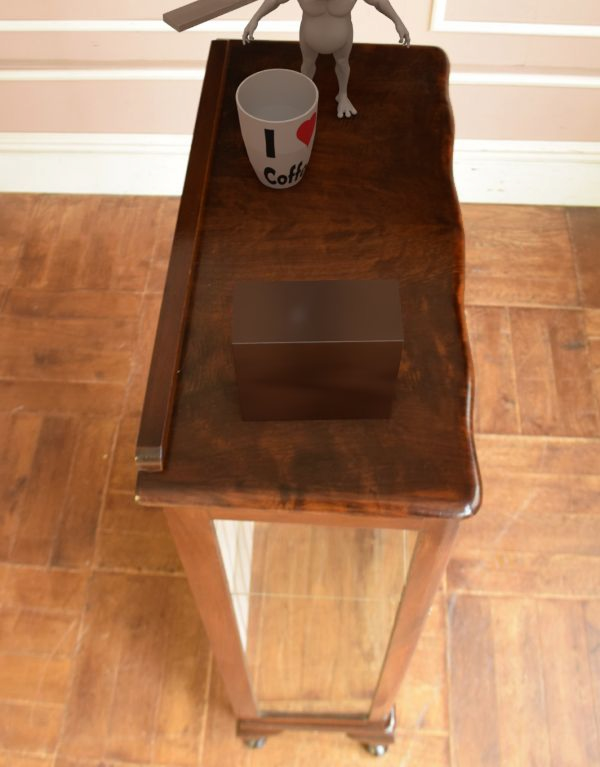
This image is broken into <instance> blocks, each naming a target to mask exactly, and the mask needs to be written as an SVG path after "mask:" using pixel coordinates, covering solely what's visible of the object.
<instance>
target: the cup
mask: <svg viewBox="0 0 600 767" xmlns="http://www.w3.org/2000/svg"><path fill="white" fill-rule="evenodd" d="M235 102H236V108H237V114H238V120H239V125H240V126H239V127H240V132H241V136H242V140H243V143H244V147H245V149H246V153H247V156H248V159H249V162H250V164H251V166H252V168H253V170H254V172H255V174H256V176H257V178H258V180H259V181H260V183H262V184H263V185H264V186H266V187H269V188H271V189H280V190H281V189H288V188H290V187H293V186H295V185H297V184H298V183H299V182H300V181H301V180H302V178H303V177H304V173H305V171H306V168H307V166H308V164H309V161H310V159H311V154H312V149H313V144H314V140H315V135H316V130H317V117H318V105H319V89H318V87H317V85H316V84H315V82H314V81H313V79H312V80H311V79H310V78H308V77H307V76H305V75H303V74H301V72H299V71H296V70H292V69H287V68H269V69H264V70H261V71H257V72H255V73H253V74H251V75H249V76H248V77H246V78H245V79H244V80H243V81H241V83H240V84H239V86H238V87H237V89H236V92H235Z"/></svg>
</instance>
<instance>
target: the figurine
mask: <svg viewBox="0 0 600 767" xmlns="http://www.w3.org/2000/svg"><path fill="white" fill-rule="evenodd" d="M289 1H290V0H263V2H262V4H261V5H260V6H259V8H258V9H257V11H256V12H255V13H254V14H253V16H252V17H251V18H250V20H249V21H248V23H247V25H245V27H244V29H243V34H242V35H241V38H242V45H243V46H245V45H246V43H248V44H250V43H251V41H254V40H255V37H254V33H255V31H256V30H257V29H258V26H259V22H260V21H261V20H262V19H263V18H265V17H266V16H267V15H269V14H270V13H272V12H273V11H275V10H277V9H278V8H279V7H280V5H284V4H286V3H288V2H289ZM296 1H297V4H298V5H299V7H300V9H301V11H302V14H301V21H300V25H299V29H298V35H299V36H298V41H299V48H300V51H301V54H302V63H301V66H300V73H301V74H303V75H305V76H307V77H308V78H310V79H311V80H312V81H313V79H314V76H315V74H316V70H317V66H316V61H317V58H318V56H319V54H322V55H330V54H332V56H333V58H334V60H335V66H334V72H335V76H336V77H337V81H338V88H339V91H338V94H336V96H335V101H336V102H337V103H338V104H337V107H336V108H337V109H336V111H337V117H338V119H341V118H343V117H344V115H345V117H346V118H350V117H351V116H353V115H354V116H355V115H357V114H358V111H357V109H356V108H355V107H354V106H353V104H352V102H351V101H350V99H349V98H348V92H347V90H348V83H349V79H350V78H349V77H350V74H351V67H350V65H349V58H350V54H351V51H352V47H353V43H354V24H353V20H352V11H353V9H354V8H355V5H356V3H357V2H358V0H296ZM362 1H363V2H364V3H365V4H367V5H369V6H372V7H374V8H375V10H376V11H378V12H379V13H380V14H382V15H383V16H384V17H386V18H387V19H389V20H391V22H392V23H393V24H394V28H395V31H396V33H397V34H398V37H399V40H398V44H402V47H405V46H406V48H407V49H409V48H410V46H411V37H410V32H409V30H408V28H407V27H406V25H405V23H404V22H403V20H402V18H401V17H400V15H399V14H398V13H397V11H396V10H395V9H394V7H393V6H392V4H391V2H390V0H362ZM344 113H345V114H344Z"/></svg>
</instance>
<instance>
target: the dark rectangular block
mask: <svg viewBox="0 0 600 767" xmlns="http://www.w3.org/2000/svg"><path fill="white" fill-rule="evenodd" d="M232 293H233V294H232V298H233V299H232V322H231V344H230V345H231V350H232V354H233V355H232V357H233V364H234V370H235V377H236V383H237V390H238V399H239V405H240V411H241V419H242V421H243V422H246V421H247V422H251V421H252V422H254V421H255V422H258V421H259V422H261V421H262V422H263V421H313V420H314V421H317V420H320V421H321V420H323V421H324V420H373V419H375V420H377V419H380V420H381V419H390V418H391V414H392V408H393V404H394V399H395V394H396V387H397V383H398V377H399V372H400V366H401V360H402V355H403V351H404V345H405V332H404V322H403V314H402V305H401V295H400V294H401V293H400V284H399V279H398V278H386V279H385V278H381V279H379V278H378V279H376V278H375V279H324V280H323V279H322V280H321V279H320V280H318V279H317V280H267V281H265V280H263V281H262V280H261V281H234V282H233V292H232Z"/></svg>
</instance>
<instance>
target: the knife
mask: <svg viewBox="0 0 600 767" xmlns="http://www.w3.org/2000/svg"><path fill="white" fill-rule="evenodd" d="M258 1H259V0H194V1H192V2H190V3H187V4H184V5H182V6H179V7H176V8H175V9H172V10H170V11H167V12H164V13H163V14H162V22H163V23H165V24H166V25H168V26H169V27H170V28H171V29H174V30H175V31H176V32H177V33H183V32H185V31H187V30H189V29H192V28H194V27H197V26H200V25H201V24H205V23H206V22H208V21H211V20H213V19H217V18H218V17H221V16H223V15H226V14H229V13H231V12H233V11H237V10H239V9H241V8H243V7H245V6H248V5H250V4H253V3H255V2H258Z"/></svg>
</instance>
